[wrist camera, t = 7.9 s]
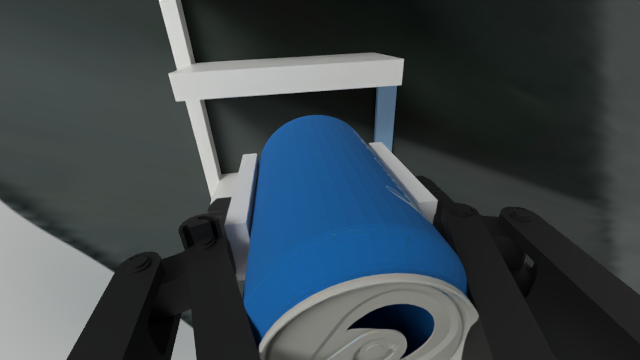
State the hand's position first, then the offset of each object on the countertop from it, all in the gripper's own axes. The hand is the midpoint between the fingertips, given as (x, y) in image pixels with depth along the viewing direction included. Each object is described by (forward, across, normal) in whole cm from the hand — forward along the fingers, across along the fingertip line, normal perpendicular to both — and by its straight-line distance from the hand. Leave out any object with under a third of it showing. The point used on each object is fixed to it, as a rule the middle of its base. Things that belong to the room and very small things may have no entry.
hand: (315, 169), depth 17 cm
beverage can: (+1, 0, 0) cm, 1 cm away
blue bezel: (+9, +7, 0) cm, 11 cm away
